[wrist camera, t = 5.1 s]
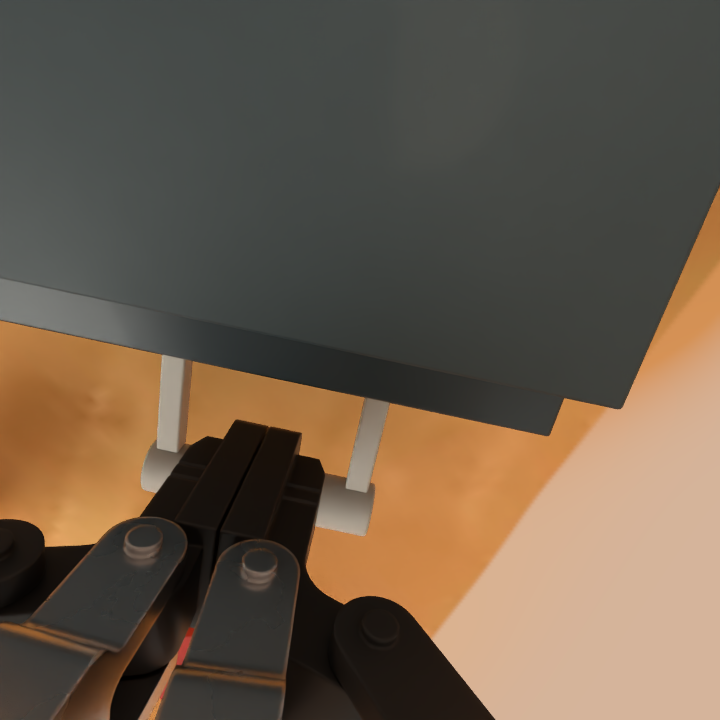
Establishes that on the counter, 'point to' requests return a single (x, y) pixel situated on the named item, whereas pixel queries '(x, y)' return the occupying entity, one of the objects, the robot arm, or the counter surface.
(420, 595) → the counter surface
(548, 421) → the drawer
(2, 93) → the cabinet
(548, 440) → the counter surface
